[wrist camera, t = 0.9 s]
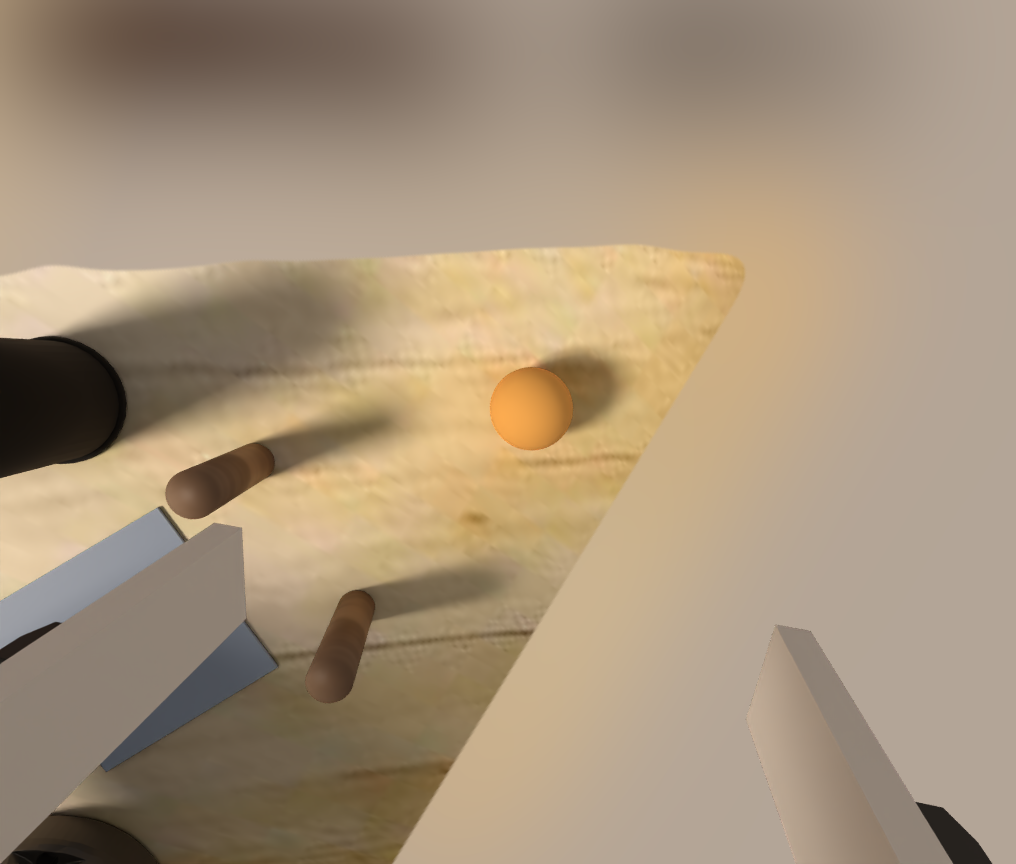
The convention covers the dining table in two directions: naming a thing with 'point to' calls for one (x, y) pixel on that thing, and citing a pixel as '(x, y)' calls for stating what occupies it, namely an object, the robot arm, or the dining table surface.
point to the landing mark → (101, 574)
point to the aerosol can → (55, 403)
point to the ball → (531, 408)
